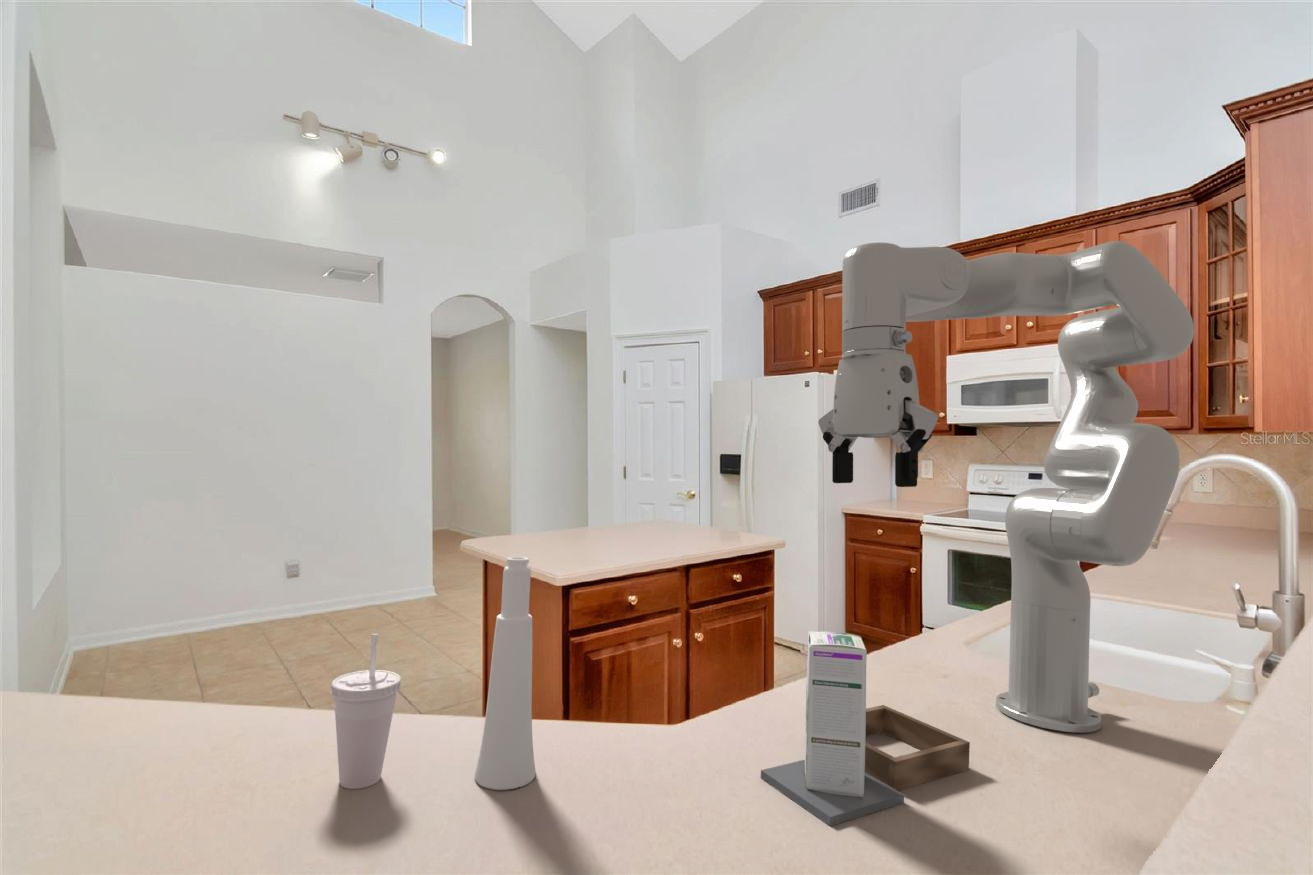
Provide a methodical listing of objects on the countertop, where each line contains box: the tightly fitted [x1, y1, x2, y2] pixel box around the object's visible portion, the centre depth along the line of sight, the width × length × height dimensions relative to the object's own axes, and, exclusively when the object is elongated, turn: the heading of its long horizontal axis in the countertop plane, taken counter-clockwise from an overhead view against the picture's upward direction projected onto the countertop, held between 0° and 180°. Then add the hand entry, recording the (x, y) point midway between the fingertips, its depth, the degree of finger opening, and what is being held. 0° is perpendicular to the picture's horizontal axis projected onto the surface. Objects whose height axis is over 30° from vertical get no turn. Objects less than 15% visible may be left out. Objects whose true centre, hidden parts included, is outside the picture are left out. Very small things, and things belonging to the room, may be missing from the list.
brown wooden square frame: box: [865, 704, 971, 792], centre depth 76 cm, size 12×12×3 cm
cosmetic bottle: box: [474, 556, 537, 791], centre depth 67 cm, size 6×6×22 cm
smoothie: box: [329, 633, 402, 790], centre depth 65 cm, size 6×6×14 cm
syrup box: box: [804, 630, 868, 797], centre depth 68 cm, size 6×6×14 cm
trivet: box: [760, 759, 905, 827], centre depth 67 cm, size 10×10×1 cm
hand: (872, 484), depth 81 cm, fingers open, 9 cm apart
